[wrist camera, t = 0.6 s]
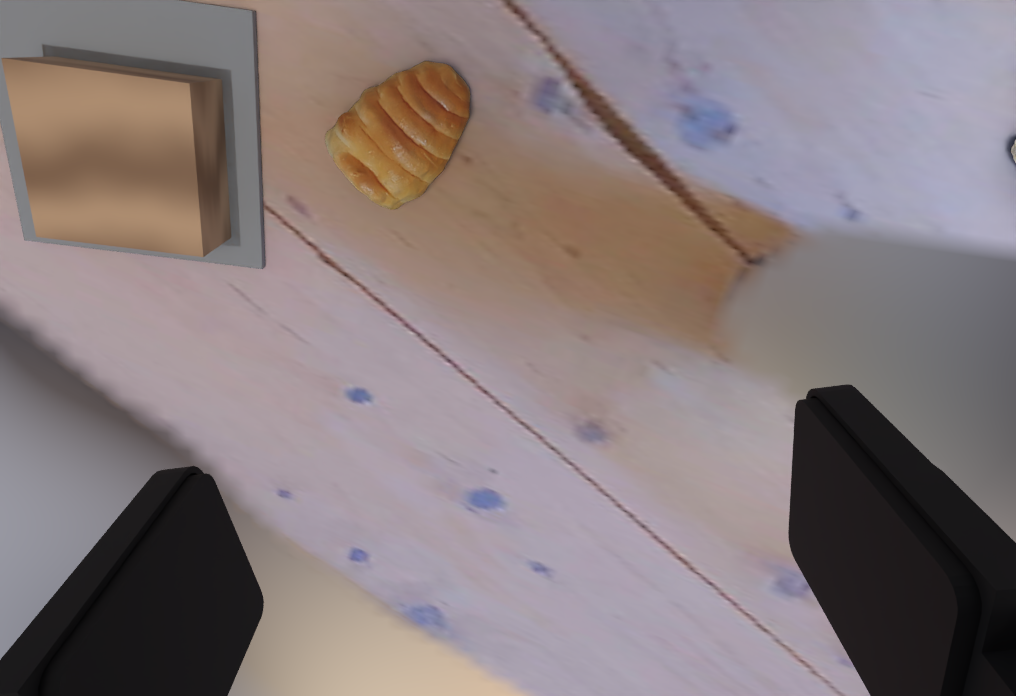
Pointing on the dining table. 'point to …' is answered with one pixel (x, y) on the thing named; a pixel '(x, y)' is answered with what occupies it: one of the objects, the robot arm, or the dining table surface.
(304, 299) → the dining table surface
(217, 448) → the dining table surface
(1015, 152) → the storage basket
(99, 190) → the plinth
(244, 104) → the slate mat
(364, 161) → the pastry
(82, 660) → the robot arm
